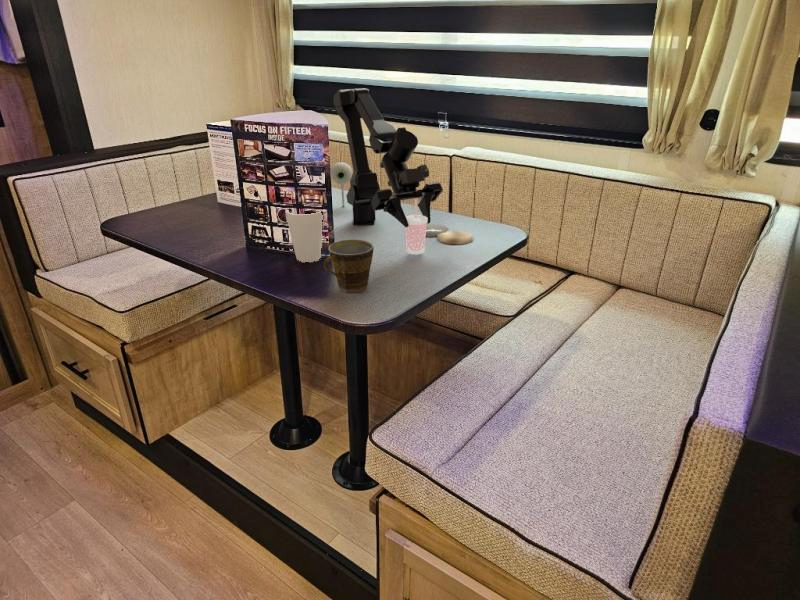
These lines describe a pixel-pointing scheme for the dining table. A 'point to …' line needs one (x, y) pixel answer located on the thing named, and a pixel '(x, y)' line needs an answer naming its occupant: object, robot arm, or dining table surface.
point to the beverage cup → (416, 232)
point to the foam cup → (306, 235)
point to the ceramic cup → (351, 264)
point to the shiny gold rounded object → (455, 237)
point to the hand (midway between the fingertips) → (418, 224)
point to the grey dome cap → (435, 230)
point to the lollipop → (341, 175)
